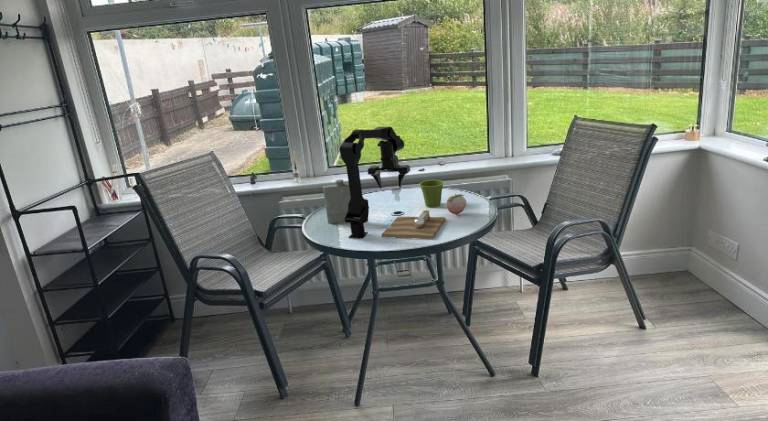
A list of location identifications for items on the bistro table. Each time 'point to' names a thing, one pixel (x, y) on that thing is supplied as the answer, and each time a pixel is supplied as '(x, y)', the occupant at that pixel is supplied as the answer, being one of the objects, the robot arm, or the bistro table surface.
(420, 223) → the lever
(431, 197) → the plant pot
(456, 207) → the decorative fruit
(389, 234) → the board
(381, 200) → the bistro table surface
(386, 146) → the robot arm
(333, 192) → the hip flask
